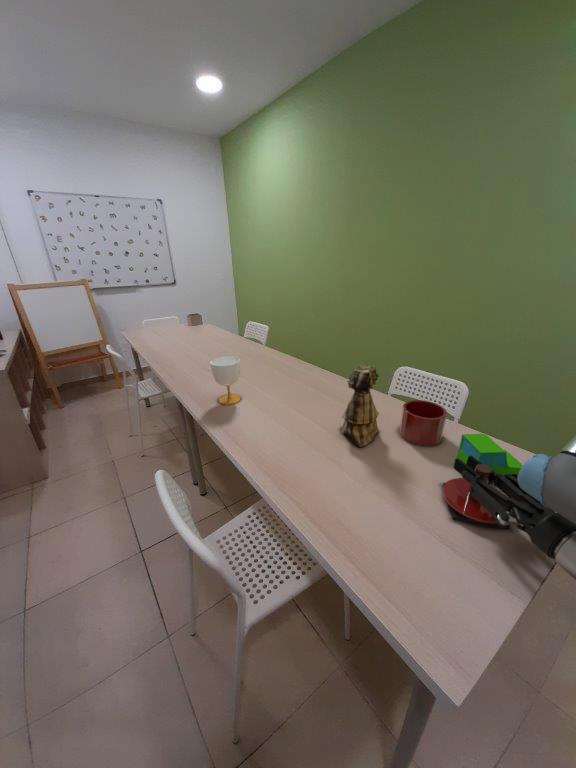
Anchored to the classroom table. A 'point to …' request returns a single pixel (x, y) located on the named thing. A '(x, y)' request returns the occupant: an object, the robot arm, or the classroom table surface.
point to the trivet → (461, 517)
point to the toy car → (488, 454)
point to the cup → (226, 376)
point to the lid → (468, 496)
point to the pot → (422, 422)
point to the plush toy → (361, 407)
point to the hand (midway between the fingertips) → (462, 461)
